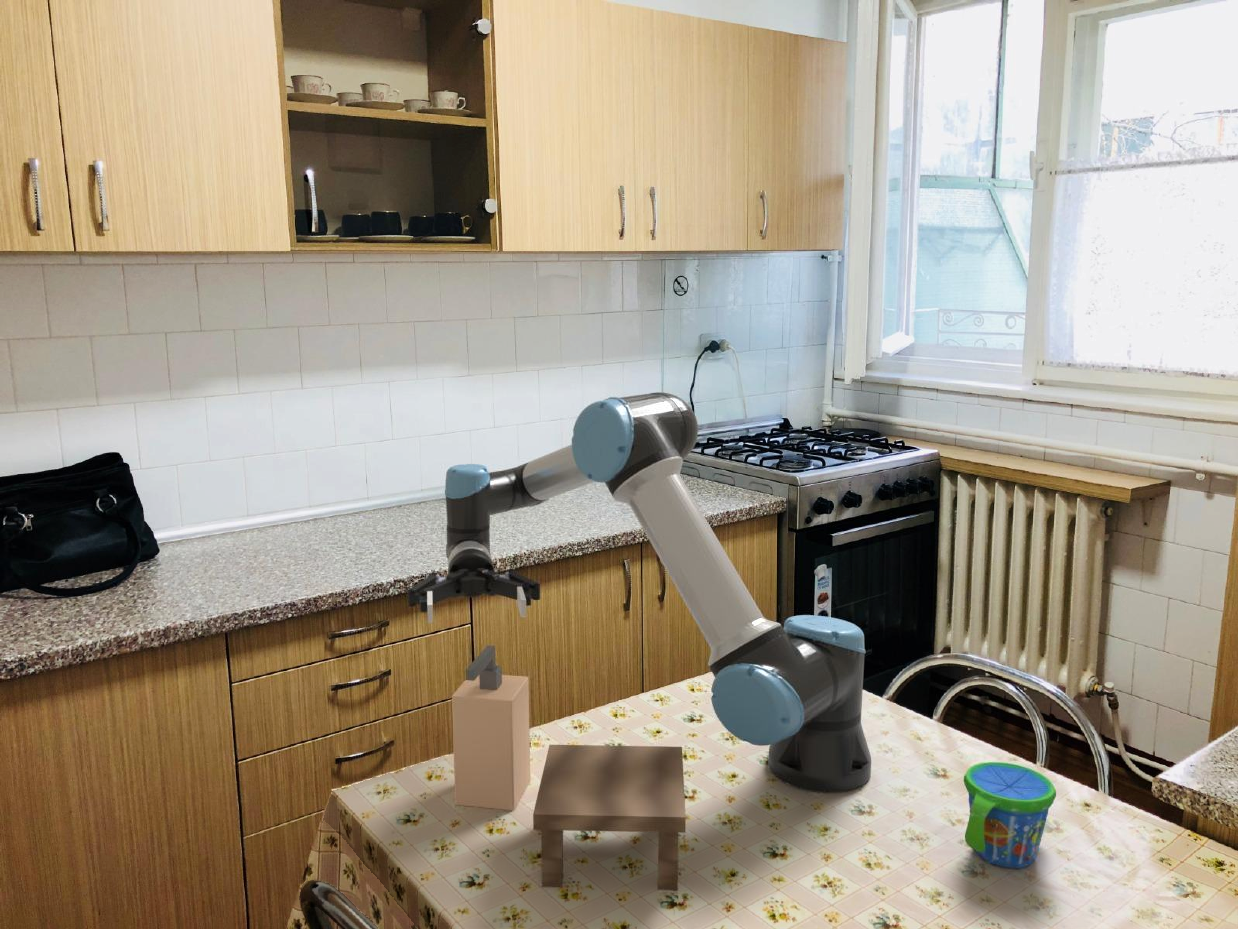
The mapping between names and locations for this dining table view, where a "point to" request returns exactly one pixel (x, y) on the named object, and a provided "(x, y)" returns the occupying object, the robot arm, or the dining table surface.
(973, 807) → the snack cup
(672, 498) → the robot arm
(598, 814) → the walnut stool
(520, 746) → the soap dispenser
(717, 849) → the dining table surface
